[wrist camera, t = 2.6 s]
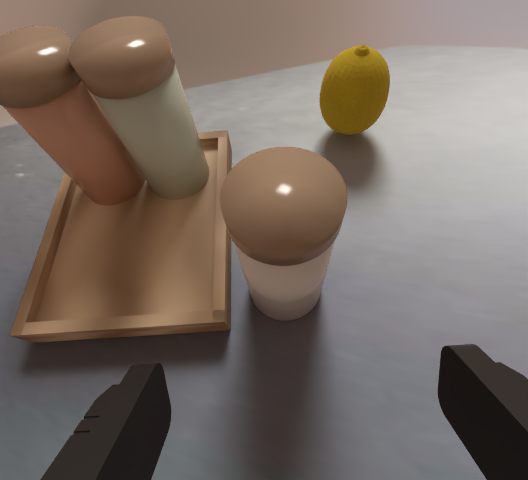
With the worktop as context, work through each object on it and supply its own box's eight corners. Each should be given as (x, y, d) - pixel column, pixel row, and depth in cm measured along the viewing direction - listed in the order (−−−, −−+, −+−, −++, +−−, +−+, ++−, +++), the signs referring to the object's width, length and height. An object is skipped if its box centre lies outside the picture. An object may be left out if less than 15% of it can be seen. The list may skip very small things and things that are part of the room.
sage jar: (211, 149, 28) (170, 11, 18) (209, 198, 25) (160, 68, 16) (152, 154, 28) (80, 20, 18) (144, 203, 26) (56, 78, 16)
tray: (231, 149, 30) (227, 130, 28) (230, 330, 22) (224, 321, 20) (88, 161, 30) (74, 144, 28) (34, 342, 22) (9, 335, 20)
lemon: (321, 156, 29) (331, 73, 22) (312, 115, 31) (319, 29, 24) (382, 149, 28) (412, 64, 21) (368, 109, 31) (391, 21, 24)
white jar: (317, 249, 24) (336, 142, 14) (327, 319, 22) (358, 244, 12) (247, 254, 24) (220, 151, 15) (249, 324, 22) (217, 255, 12)
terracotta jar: (151, 154, 28) (78, 21, 19) (142, 203, 26) (53, 78, 16) (92, 159, 28) (-9, 30, 19) (78, 208, 26) (-49, 88, 16)
